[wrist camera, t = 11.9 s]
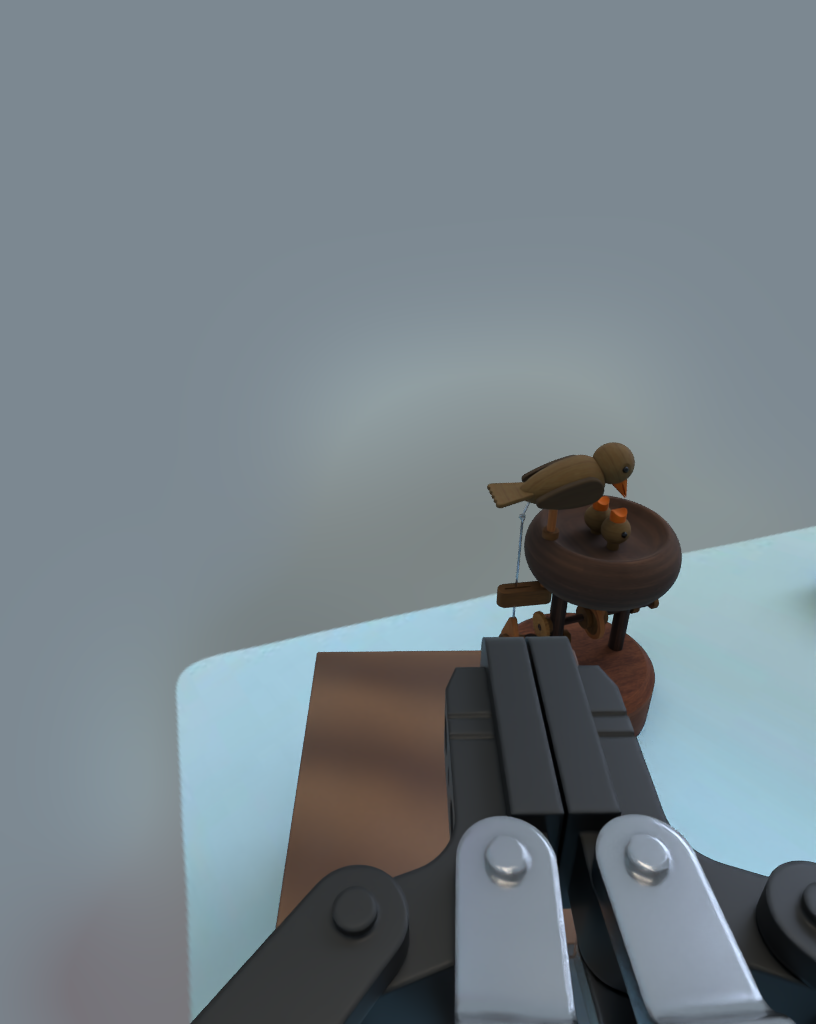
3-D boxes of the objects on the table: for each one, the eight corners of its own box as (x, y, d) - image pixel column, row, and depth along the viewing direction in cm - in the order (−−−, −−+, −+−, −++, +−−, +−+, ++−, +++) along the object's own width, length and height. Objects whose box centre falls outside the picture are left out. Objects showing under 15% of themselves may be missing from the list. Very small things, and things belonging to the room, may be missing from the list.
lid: (318, 663, 36) (316, 651, 36) (572, 660, 36) (574, 648, 36) (274, 960, 24) (272, 947, 23) (662, 955, 24) (666, 942, 23)
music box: (538, 796, 42) (554, 496, 33) (448, 689, 51) (441, 429, 42) (721, 709, 48) (777, 433, 39) (612, 626, 57) (636, 386, 48)
